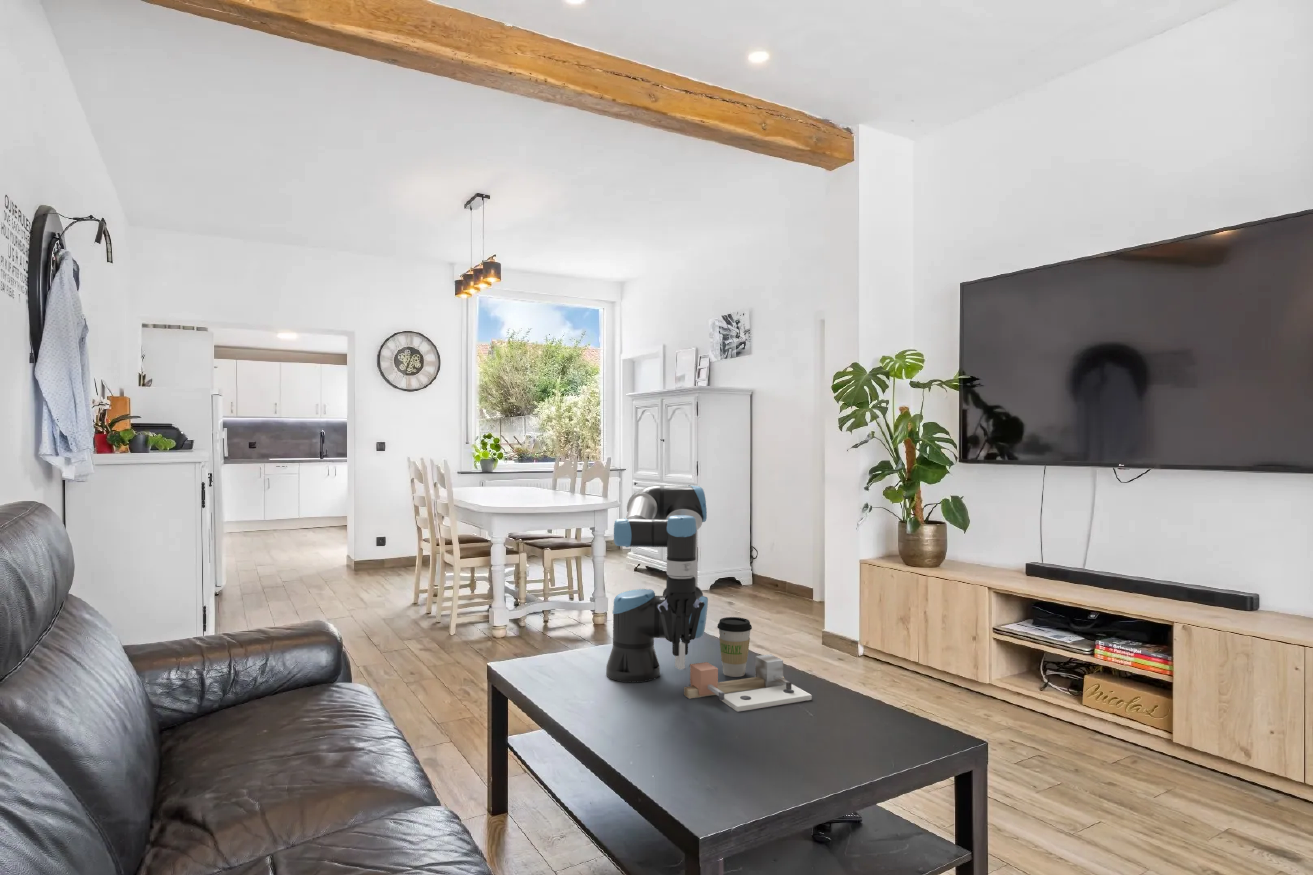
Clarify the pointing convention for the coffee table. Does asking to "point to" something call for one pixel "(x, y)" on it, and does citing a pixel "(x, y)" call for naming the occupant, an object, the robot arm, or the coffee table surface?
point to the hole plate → (765, 697)
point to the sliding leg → (705, 679)
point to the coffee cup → (734, 644)
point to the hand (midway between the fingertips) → (679, 667)
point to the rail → (766, 676)
